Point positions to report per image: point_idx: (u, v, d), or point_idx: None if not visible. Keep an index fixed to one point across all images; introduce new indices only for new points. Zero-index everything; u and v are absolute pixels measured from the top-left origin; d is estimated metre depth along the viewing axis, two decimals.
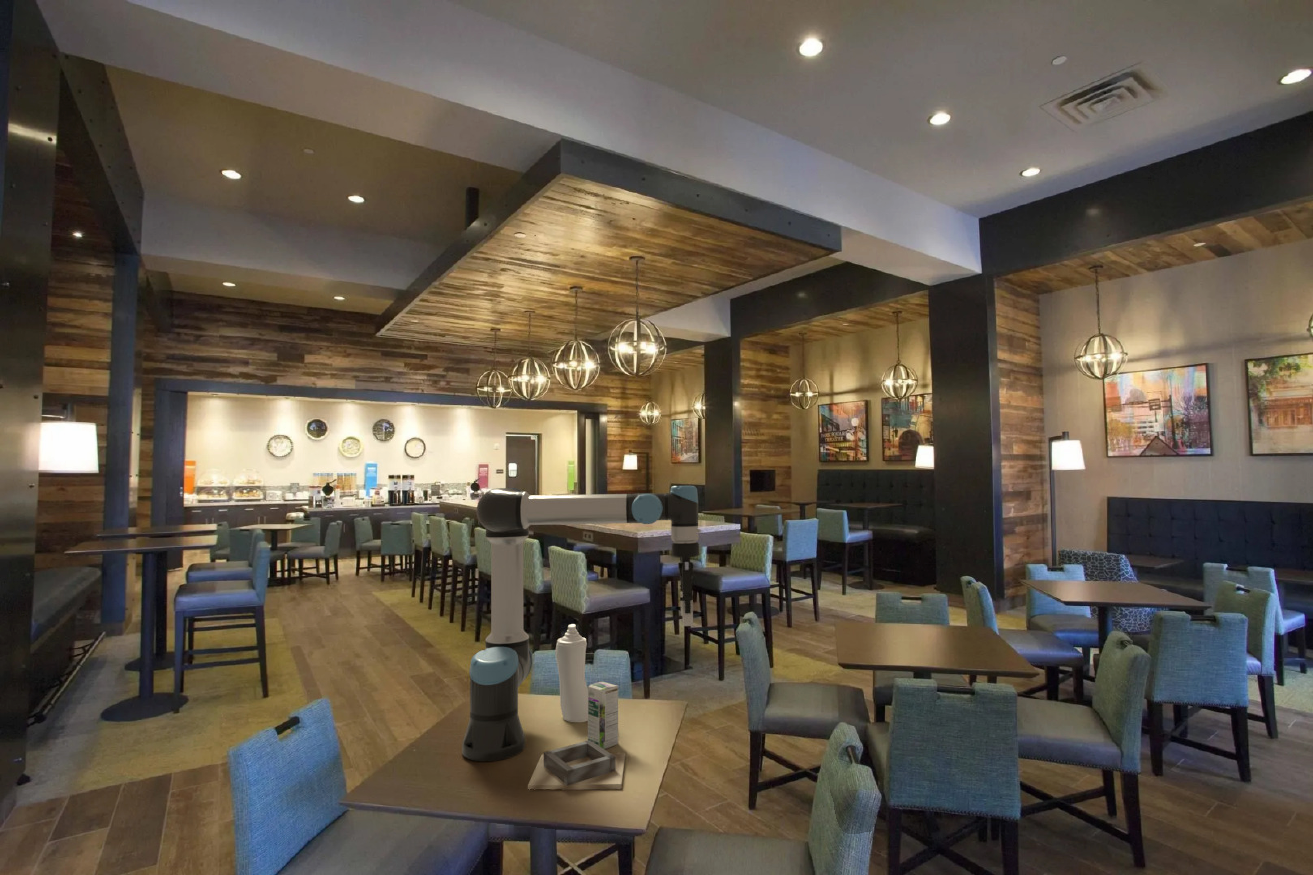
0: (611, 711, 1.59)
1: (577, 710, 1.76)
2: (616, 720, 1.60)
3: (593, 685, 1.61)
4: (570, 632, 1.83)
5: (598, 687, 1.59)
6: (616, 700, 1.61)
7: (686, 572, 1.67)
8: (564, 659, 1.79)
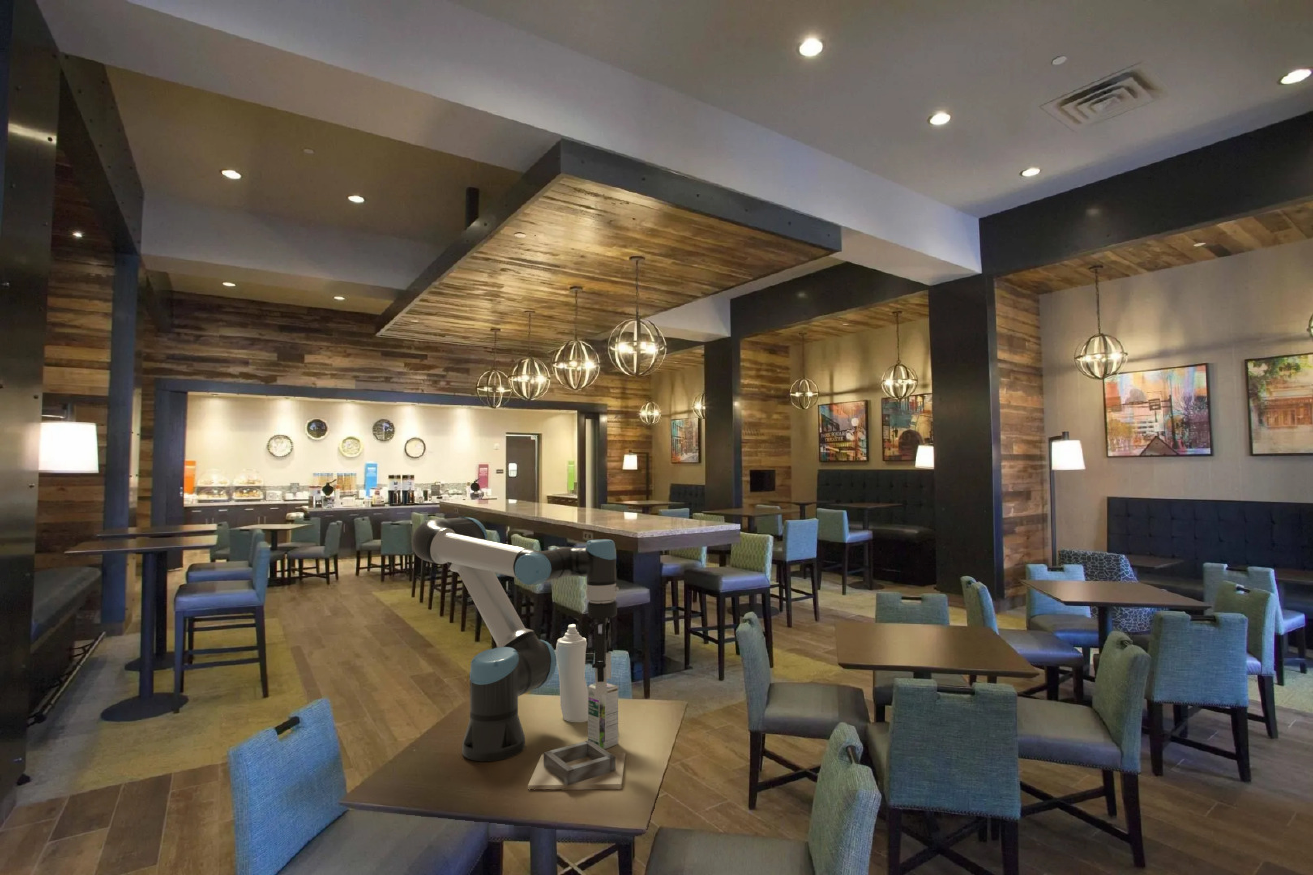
0: (611, 711, 1.59)
1: (577, 710, 1.76)
2: (616, 720, 1.60)
3: (593, 685, 1.61)
4: (570, 632, 1.83)
5: None
6: (616, 700, 1.61)
7: (599, 636, 1.55)
8: (564, 659, 1.79)
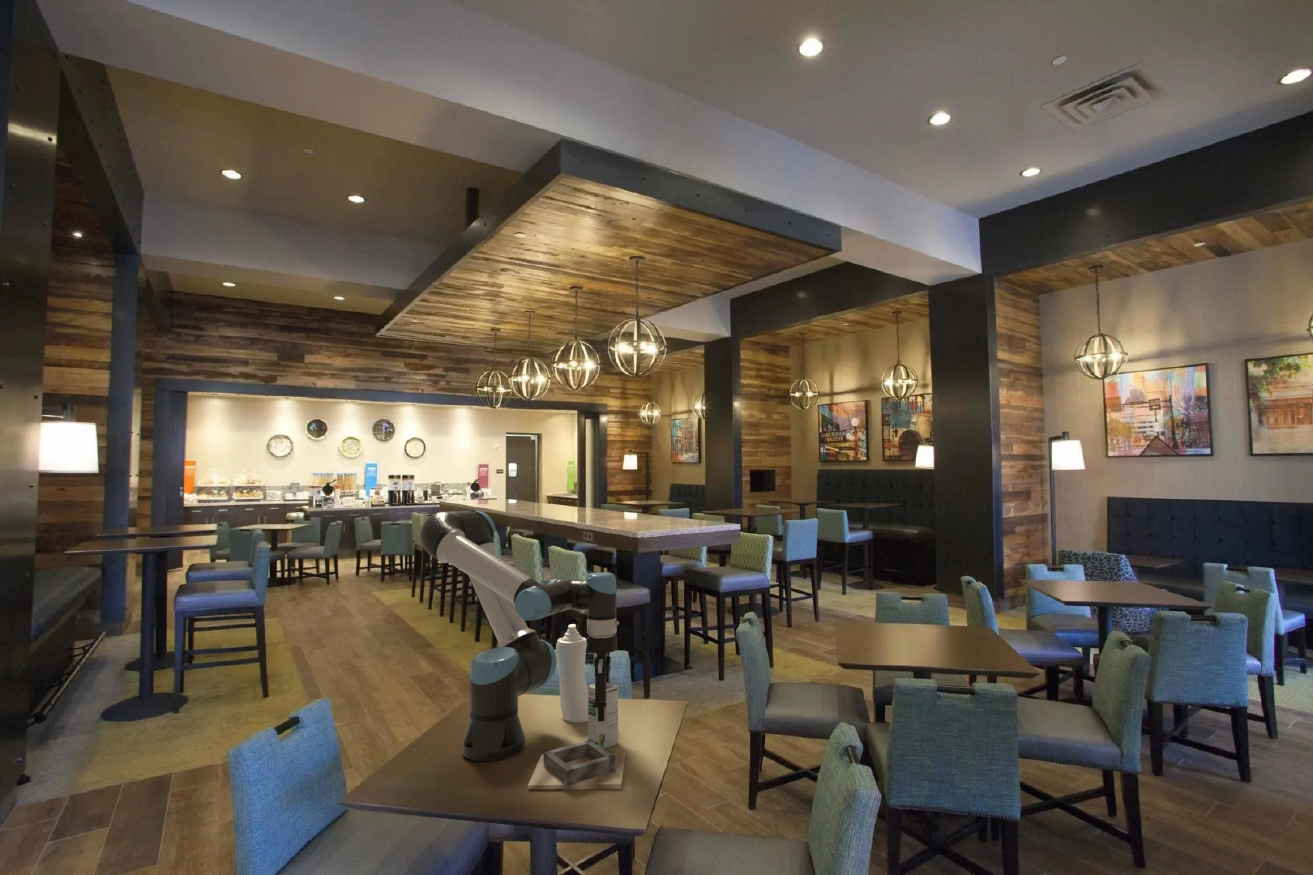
0: (611, 711, 1.59)
1: (577, 710, 1.76)
2: (616, 719, 1.60)
3: (593, 685, 1.61)
4: (570, 632, 1.83)
5: None
6: (616, 700, 1.61)
7: (599, 676, 1.55)
8: (564, 659, 1.79)
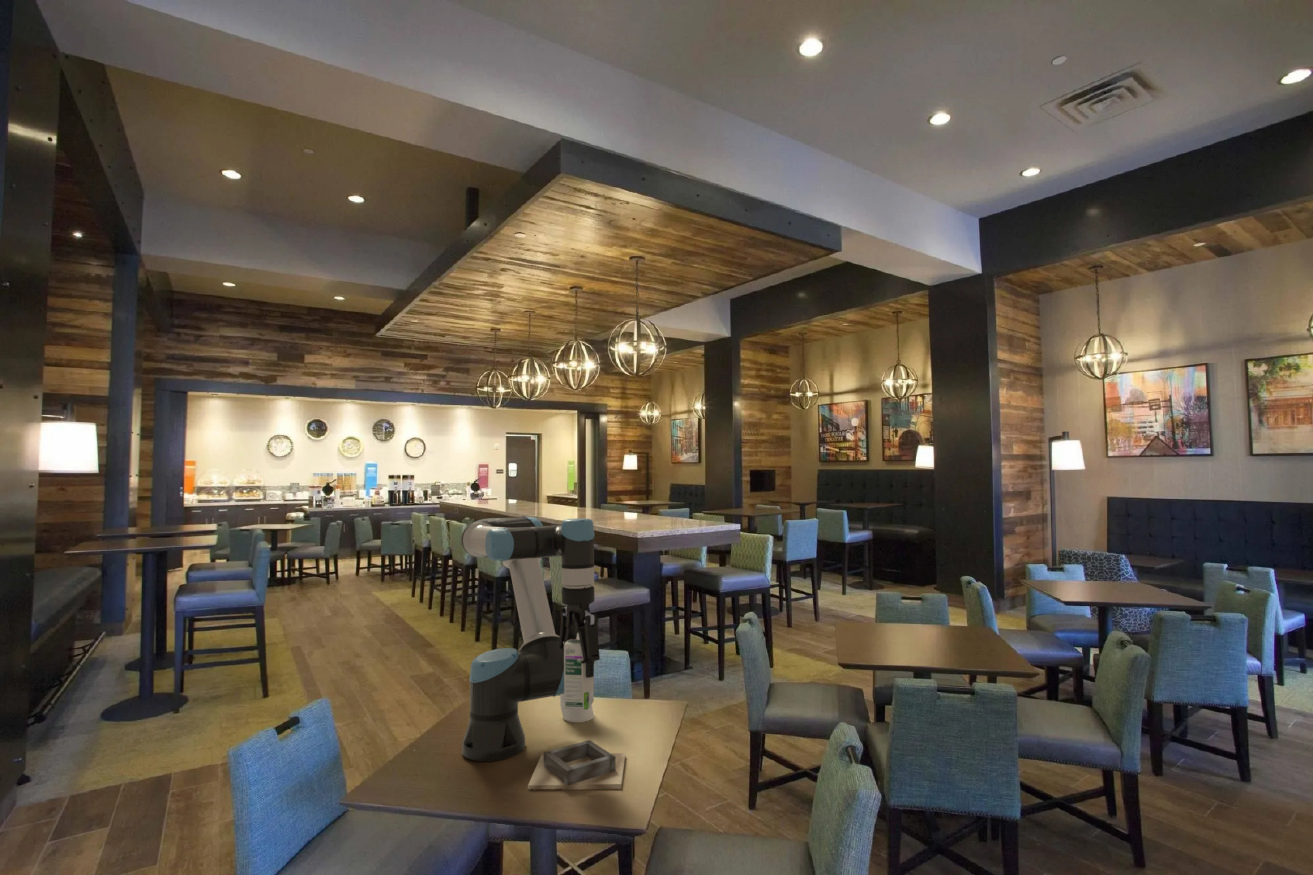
0: None
1: (577, 710, 1.76)
2: None
3: (569, 642, 1.45)
4: None
5: (579, 643, 1.45)
6: None
7: (591, 628, 1.41)
8: None
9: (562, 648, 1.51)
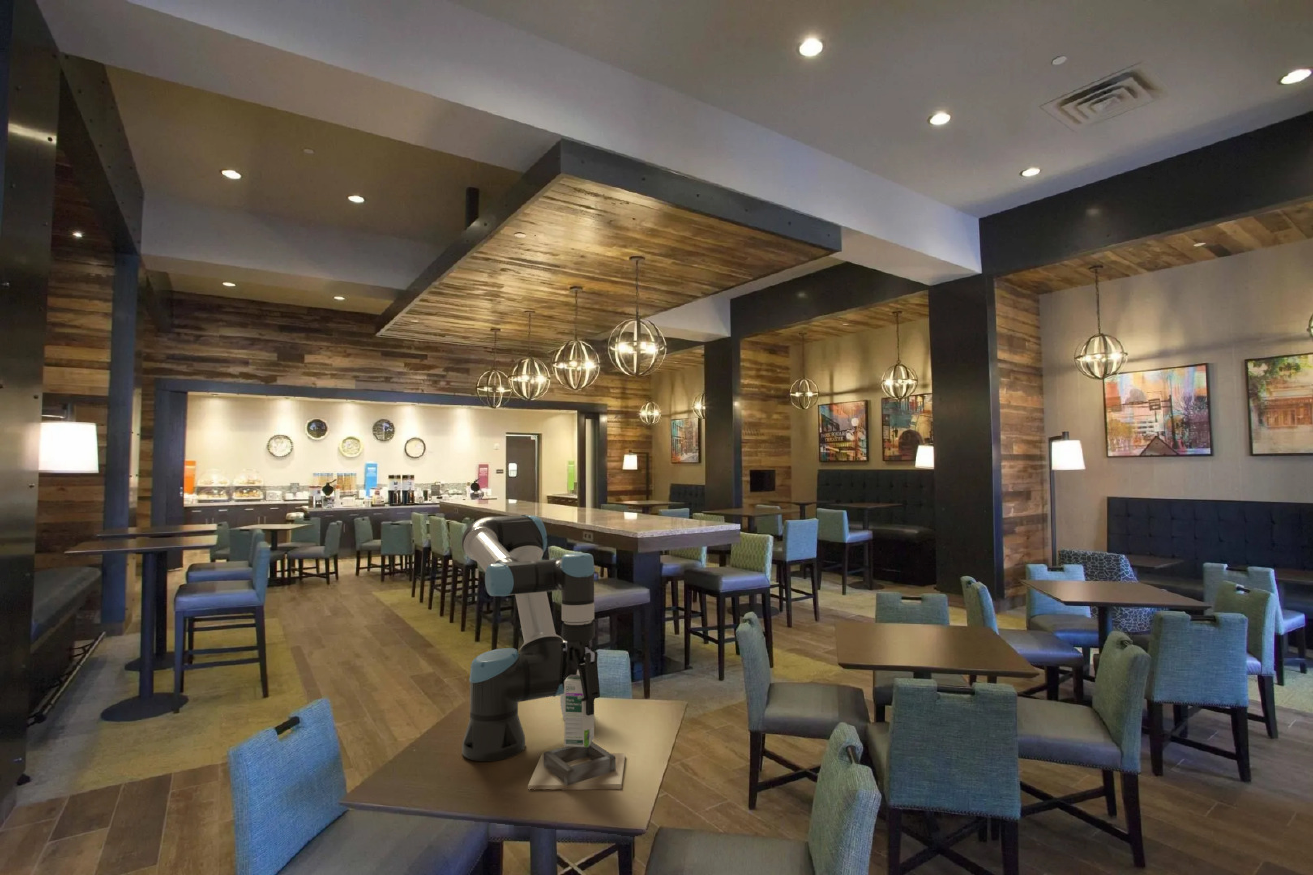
0: None
1: None
2: None
3: (569, 679, 1.44)
4: None
5: (579, 679, 1.44)
6: None
7: (591, 665, 1.41)
8: None
9: (562, 683, 1.50)
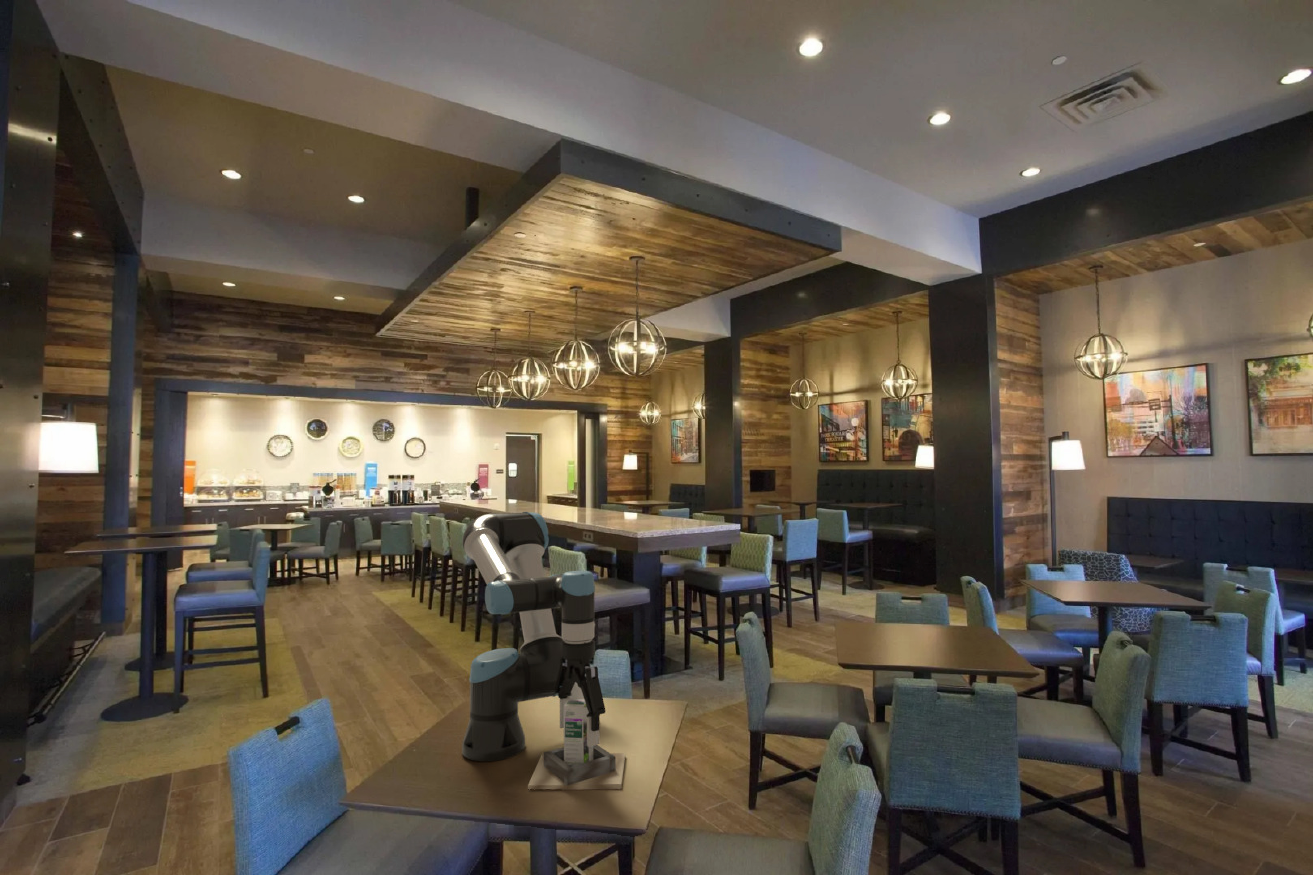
0: None
1: None
2: None
3: (569, 704, 1.44)
4: None
5: (578, 705, 1.44)
6: None
7: (593, 680, 1.40)
8: None
9: (558, 692, 1.52)
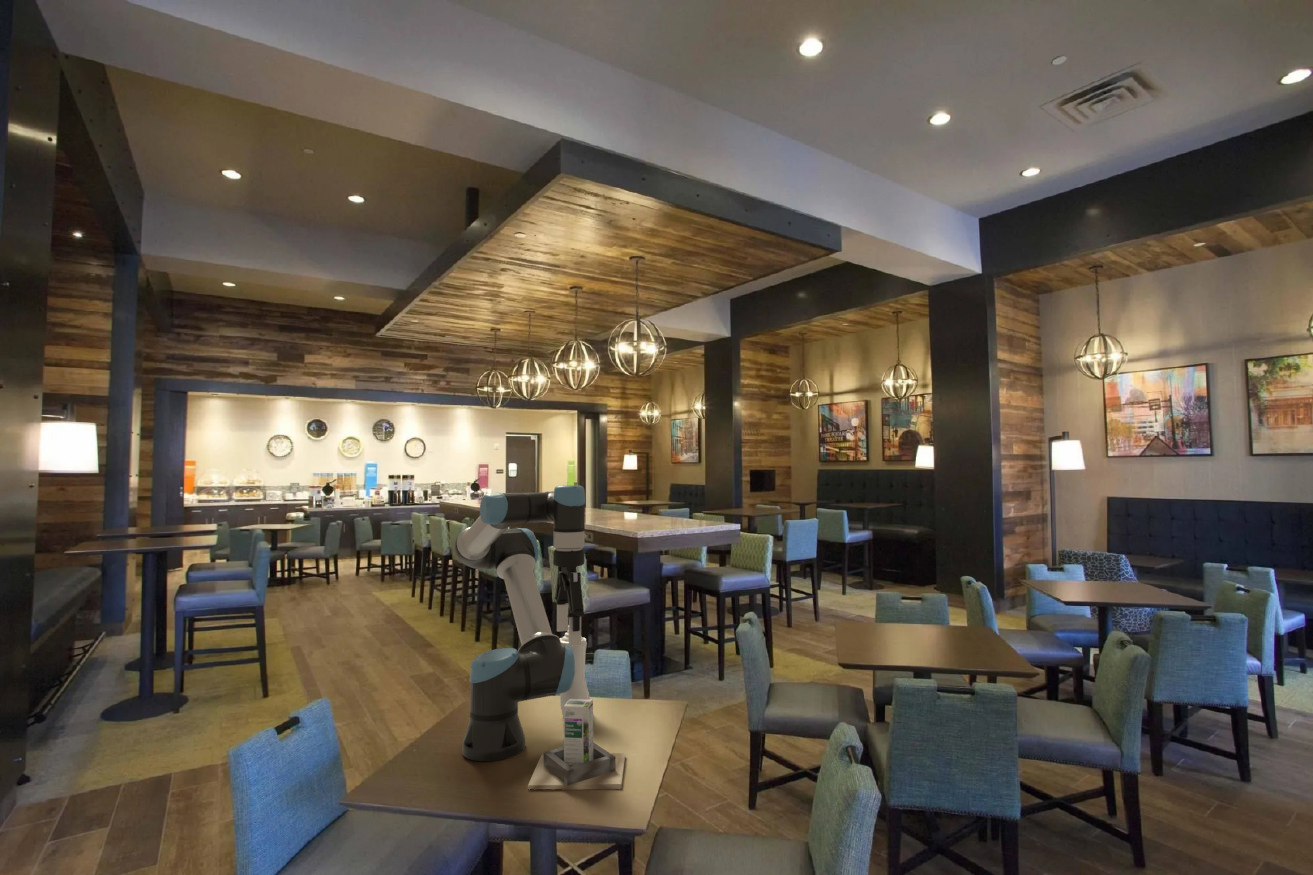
0: (590, 728, 1.45)
1: None
2: (592, 737, 1.47)
3: (569, 704, 1.44)
4: None
5: (578, 705, 1.44)
6: (592, 715, 1.47)
7: (575, 584, 1.47)
8: None
9: None
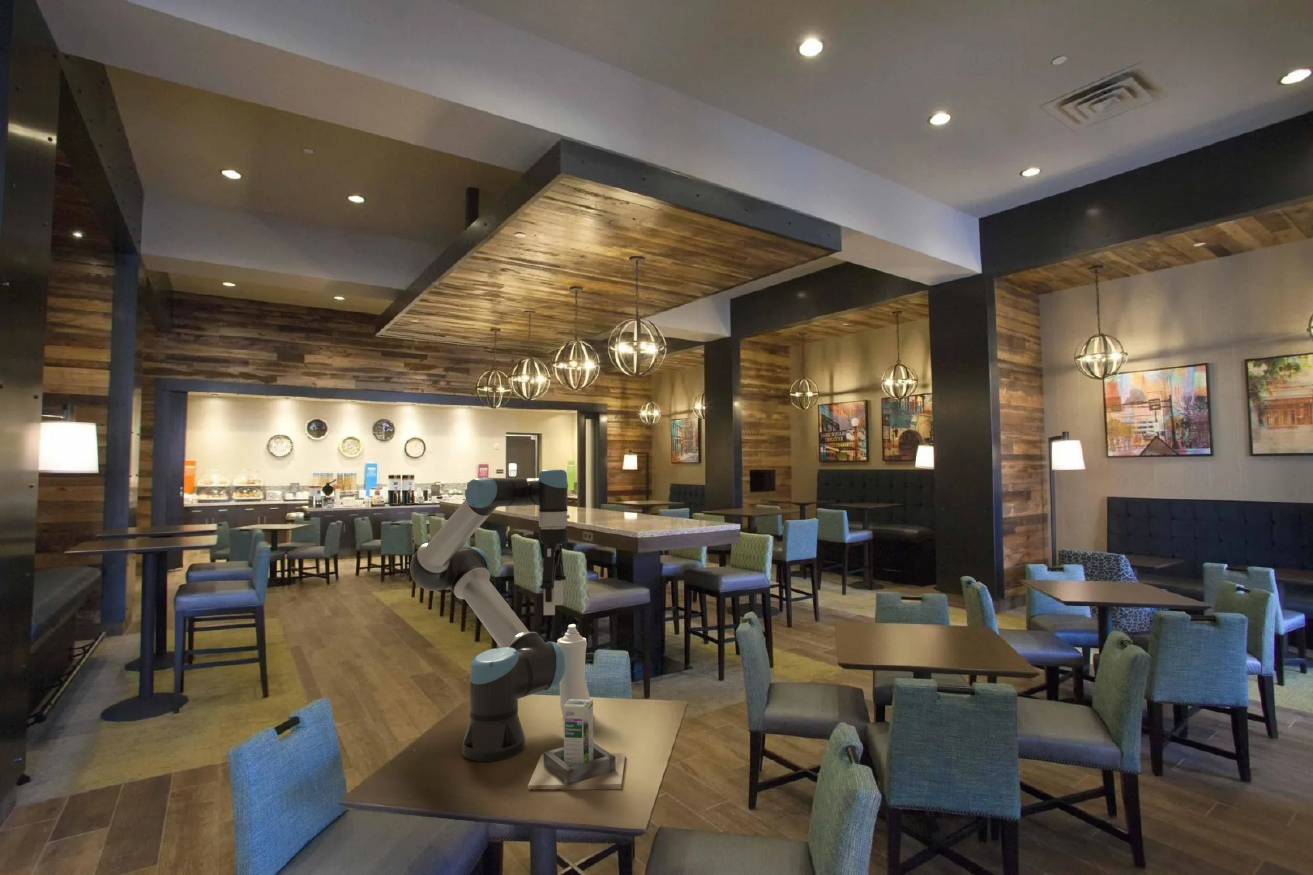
0: (590, 728, 1.45)
1: None
2: (592, 737, 1.47)
3: (569, 704, 1.44)
4: (570, 632, 1.83)
5: (578, 705, 1.44)
6: (592, 715, 1.47)
7: (548, 559, 1.61)
8: None
9: None
